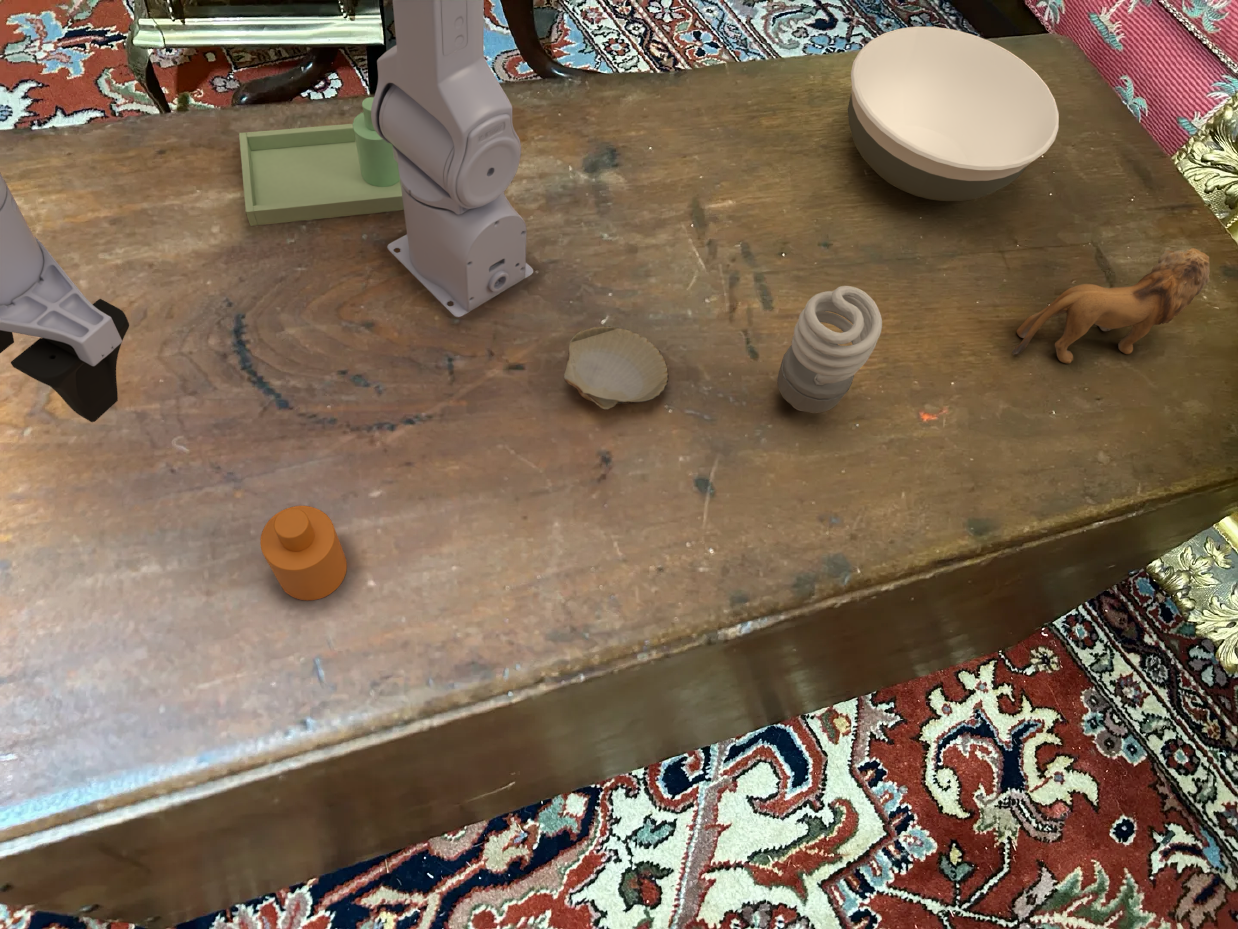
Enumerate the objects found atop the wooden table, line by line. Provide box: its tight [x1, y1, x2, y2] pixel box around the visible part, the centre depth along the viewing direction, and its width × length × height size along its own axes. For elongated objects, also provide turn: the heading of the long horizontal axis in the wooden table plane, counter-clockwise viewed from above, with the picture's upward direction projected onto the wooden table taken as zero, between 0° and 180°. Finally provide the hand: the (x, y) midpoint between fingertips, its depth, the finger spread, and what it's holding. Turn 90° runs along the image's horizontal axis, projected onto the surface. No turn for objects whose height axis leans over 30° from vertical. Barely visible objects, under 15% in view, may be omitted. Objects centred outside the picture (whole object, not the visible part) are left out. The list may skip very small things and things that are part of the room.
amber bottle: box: [259, 505, 348, 601], centre depth 57 cm, size 4×4×7 cm
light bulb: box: [776, 285, 883, 414], centre depth 66 cm, size 6×6×12 cm
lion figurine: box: [1011, 247, 1211, 364], centre depth 73 cm, size 15×5×9 cm, turn 110°
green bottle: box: [352, 96, 400, 187], centre depth 74 cm, size 4×4×7 cm
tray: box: [238, 123, 404, 227], centre depth 77 cm, size 19×9×2 cm, turn 105°
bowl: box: [846, 26, 1060, 202], centre depth 83 cm, size 19×19×8 cm
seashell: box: [563, 325, 669, 411], centre depth 69 cm, size 8×3×8 cm
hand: (48, 379), depth 53 cm, fingers open, 7 cm apart
